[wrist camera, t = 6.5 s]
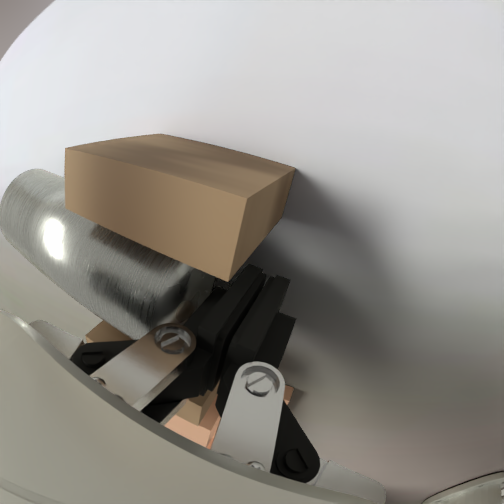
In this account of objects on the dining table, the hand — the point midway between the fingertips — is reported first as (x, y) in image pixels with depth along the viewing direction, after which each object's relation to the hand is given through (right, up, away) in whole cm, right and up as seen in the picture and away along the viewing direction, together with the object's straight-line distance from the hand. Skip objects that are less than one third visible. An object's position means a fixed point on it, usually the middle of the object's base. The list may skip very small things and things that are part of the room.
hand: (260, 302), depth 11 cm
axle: (-7, +3, +3) cm, 9 cm away
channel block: (-3, +2, +2) cm, 4 cm away
